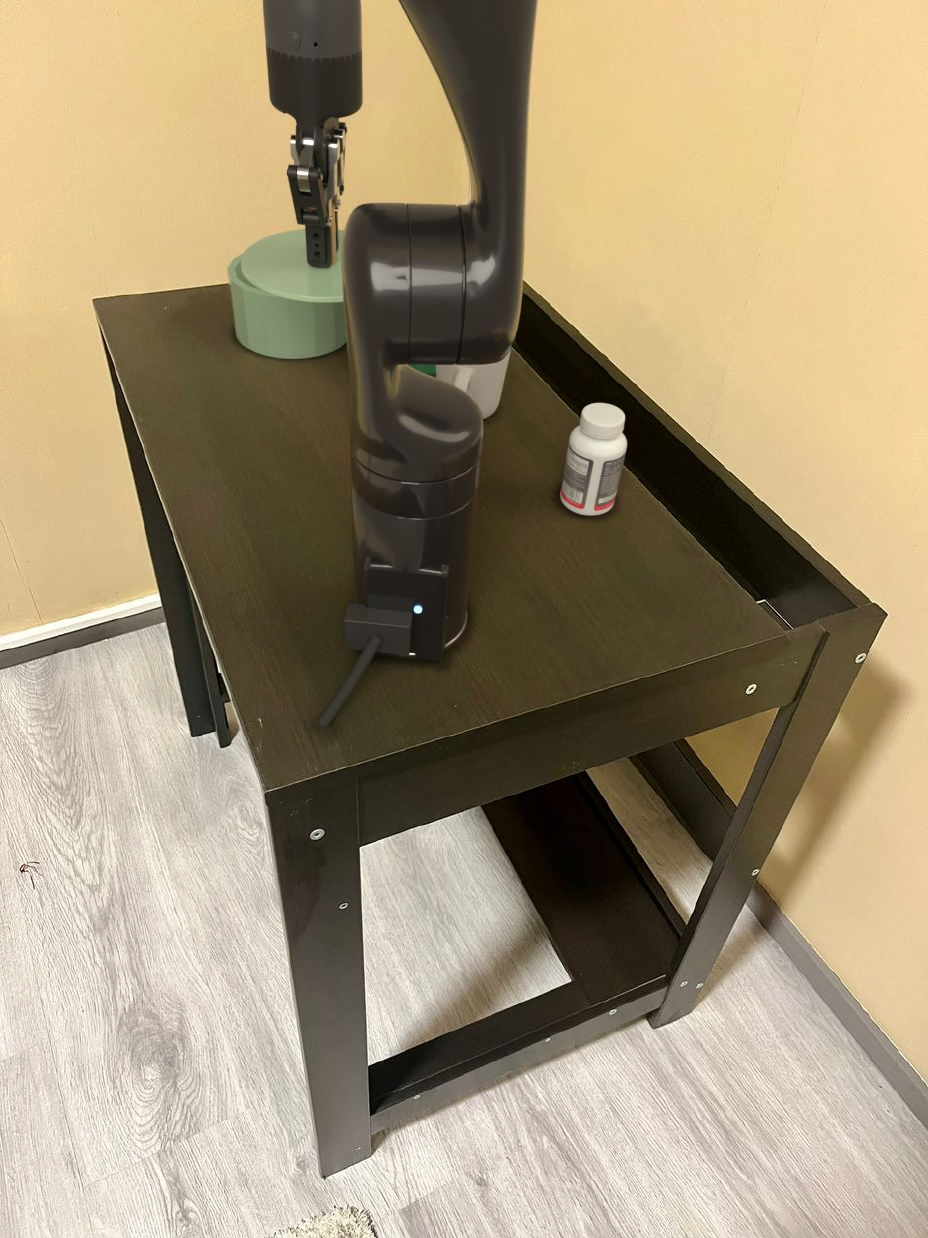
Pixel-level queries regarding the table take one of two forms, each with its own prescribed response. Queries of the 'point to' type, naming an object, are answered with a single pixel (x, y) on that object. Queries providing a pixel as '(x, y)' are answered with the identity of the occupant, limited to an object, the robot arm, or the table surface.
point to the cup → (478, 382)
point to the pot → (283, 321)
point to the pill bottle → (594, 460)
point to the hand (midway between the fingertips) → (323, 257)
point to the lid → (293, 267)
